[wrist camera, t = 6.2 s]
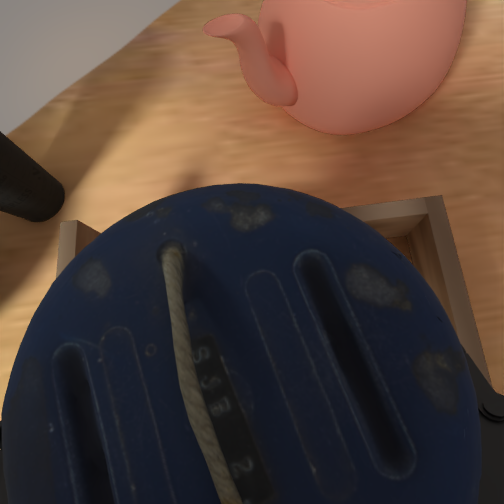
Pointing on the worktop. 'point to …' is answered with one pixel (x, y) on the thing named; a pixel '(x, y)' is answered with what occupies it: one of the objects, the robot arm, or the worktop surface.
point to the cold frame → (388, 225)
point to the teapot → (345, 57)
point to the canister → (241, 365)
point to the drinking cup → (26, 185)
